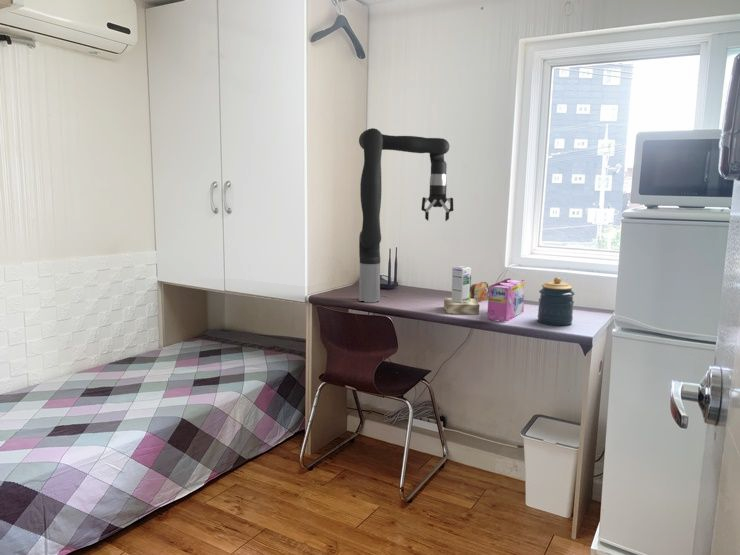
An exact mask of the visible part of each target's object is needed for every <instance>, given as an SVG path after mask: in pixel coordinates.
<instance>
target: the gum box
mask: <svg viewBox="0 0 740 555" xmlns="http://www.w3.org/2000/svg"><path fill="white" fill-rule="evenodd" d="M488 287H489V293H488V297H487V298H488V299H487V317H486V318H487V320H488V319H492V320H491V321H494V320H499V321H498V322H501V321H507V322H508V321H510V320H512V319H514V318H515V317H517V316H518V315H520V314H522V313H524V306H525V304H524V303H525V280H524V279H521V281H520V280H515V279H513V280H512V278H505V279H502V280H500V281H498V282H496V283H493V284H491V285H488ZM521 312H522V313H521ZM516 315H517V316H516ZM513 317H514V318H513ZM511 318H512V319H511ZM509 319H510V320H509Z"/></svg>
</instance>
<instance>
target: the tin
mask: <svg viewBox="0 0 740 555" xmlns="http://www.w3.org/2000/svg"><path fill="white" fill-rule="evenodd" d="M488 296H489V284H488V283H487V282H486V281H480V282H477V283H473V284H471V299H475V300H476V301H477V302H478V303H480V302H484V301H486V300H488V299H487V298H488Z"/></svg>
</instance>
